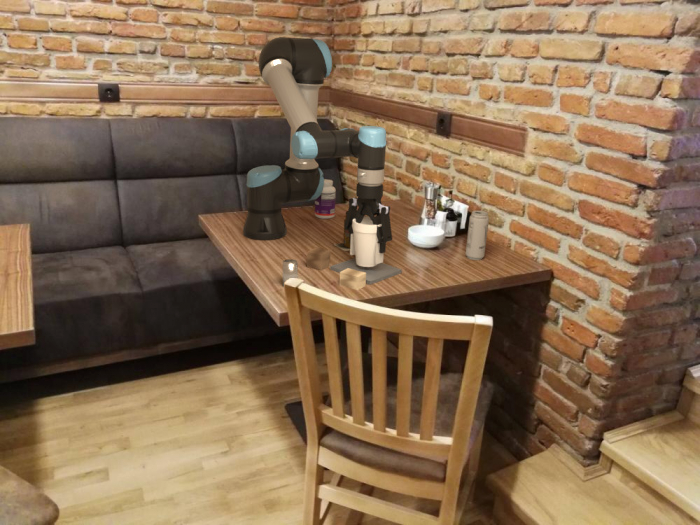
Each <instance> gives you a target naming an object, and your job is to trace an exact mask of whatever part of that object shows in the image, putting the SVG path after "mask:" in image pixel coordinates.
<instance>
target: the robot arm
mask: <svg viewBox="0 0 700 525" xmlns="http://www.w3.org/2000/svg"><path fill="white" fill-rule="evenodd" d="M331 54H332V53H331V50H330V49H329V46H328V44H327V43H326V42H325V41H323V40H321V39H317V38H307V37H286V36H279V37H274V38H272V39H271V40H269V41H268V42H266V44H265V45H264V46H263V47H262V49H261V51H260V52H259V55H258V70H259V74H260V76H261V78H262V80H263V82H264V83H266V85H269V87H270V89H271V90H272V93H273V95H274V97H275V99H276V101H277V103H278V105H279V106H280V109H281V111H282V113H283V115H284V117H285V119H286V120H287V123H288V125H289V127H290V143H289V147H290V148H289V159H287V160H286V161H285V163H284V169H282V166H279V165H275V164H272V165H261V166H257V167H254V168H252V169H250V170H249V171H248V172H247V175H246V184H245V185H246V190H247V191H246V195H247V196H246V197H247V199H246V200H247V215H246V218H245V221H244V225H243V226H242V229H243V230H242V233H243V234H242V235H243V236H244V237H245V238H248V239H253V240H258V241H271V240H272V241H273V240H277V239H278V240H279V239H282V238H283V237H285V236H287V232H288V231H287V230H288V228H287V225H286V222H285V219H284V215H283V213H282V204H288V203H289V204H291V203H297V202H298V203H299V202H301V203H302V202H304V203H306V202H309V201H315V199H317V198H318V197H319V196H320V195H321V193H322V191H323V187H324V179H325V178H324V172H323V171H322V169H321V168H320V167H319V163H318V162H317V161H316V159H327V158H328V159H329V158H348V157H349V158H350V157H351V158H352V157H353V158H355V159H357V169H356V170H357V171H356V172H357V175H356V181H357V184H356V194H355V195H356V197H353V198H349V199H348V210H347V211H348V213H347V217H346V216H345V218H346V222H345V226H344V225H343V230H344V229H345V230H348V231H349V242H350V243H351V244H350V250H349V255H350V256H354V255H355V246H354V235H353V228H352V220H353V219H356V222H357V223H361V222H362V220H363V218H364V217H365V216H367V217H370V219H371V220H372V222H373V225H379V224H382V226H380V227H378V226H377V233H376V234H377V238H378V242H376V254H375V264H379V263H384V256H385V255H384V254H385V253H386V248H387V246H386V245H387V243H388V242H390V241H393V233H392V226H391V217H390V212H391V207H390V206H389V205H387V206H386V205H384V204H383V202H382V198H383V196H384V185H383V183H384V182H385V181H384V180H385V166H386V165H385V162H386V150H387V131H386V129H385V128H384V127H382V126H374V125H365V126H364V125H363V126H361V127H359V130H357V129H355V128H346V127H344V128H341V129H339V130H322V128H321V127H320V125H319V123H318V107H319V106H318V105H319V104H318V103H319V90H320V88H322V87H323V86H324V83H325V79H326V78H328V77H330V75H331V72H332V69H333V59H332V55H331ZM356 211H357V212H356ZM355 215H356V216H355Z"/></svg>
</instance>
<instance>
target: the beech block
mask: <svg viewBox="0 0 700 525" xmlns="http://www.w3.org/2000/svg"><path fill="white" fill-rule="evenodd" d="M366 284H367V283H366V273H365V272H361V271H357V270H353V269H350V268H347V269H345V270H343V271H341V272H340V273H339V286H341V287H344V288H349V289H352V290H356V291H359V290H360V289H362V288H365V287H366Z"/></svg>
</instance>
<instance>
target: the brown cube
mask: <svg viewBox="0 0 700 525" xmlns="http://www.w3.org/2000/svg"><path fill="white" fill-rule="evenodd" d="M330 266H331V250H329V249H325V248H321V247H317V246H316V247H314V248H312V249H310V250H308V251H307V252H306V268H309V269H312V270H316V271H323V270H325V269H327V268H328V267H329V268H330Z"/></svg>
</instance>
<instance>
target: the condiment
mask: <svg viewBox="0 0 700 525" xmlns="http://www.w3.org/2000/svg"><path fill="white" fill-rule="evenodd" d="M356 212H357V211H356ZM347 213H348V210H346V212H345V218H344V220H343V221H344V222H343V227H344V226H345V222H346V217H347ZM355 216H356V215H355ZM350 244H351V243H350V242H349V231H348V230H345V229H344V228H343V242H341V243H334V244H333V246H335V247H337V249H340V250H342V251H344V252H348V251H349V252H350Z"/></svg>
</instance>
